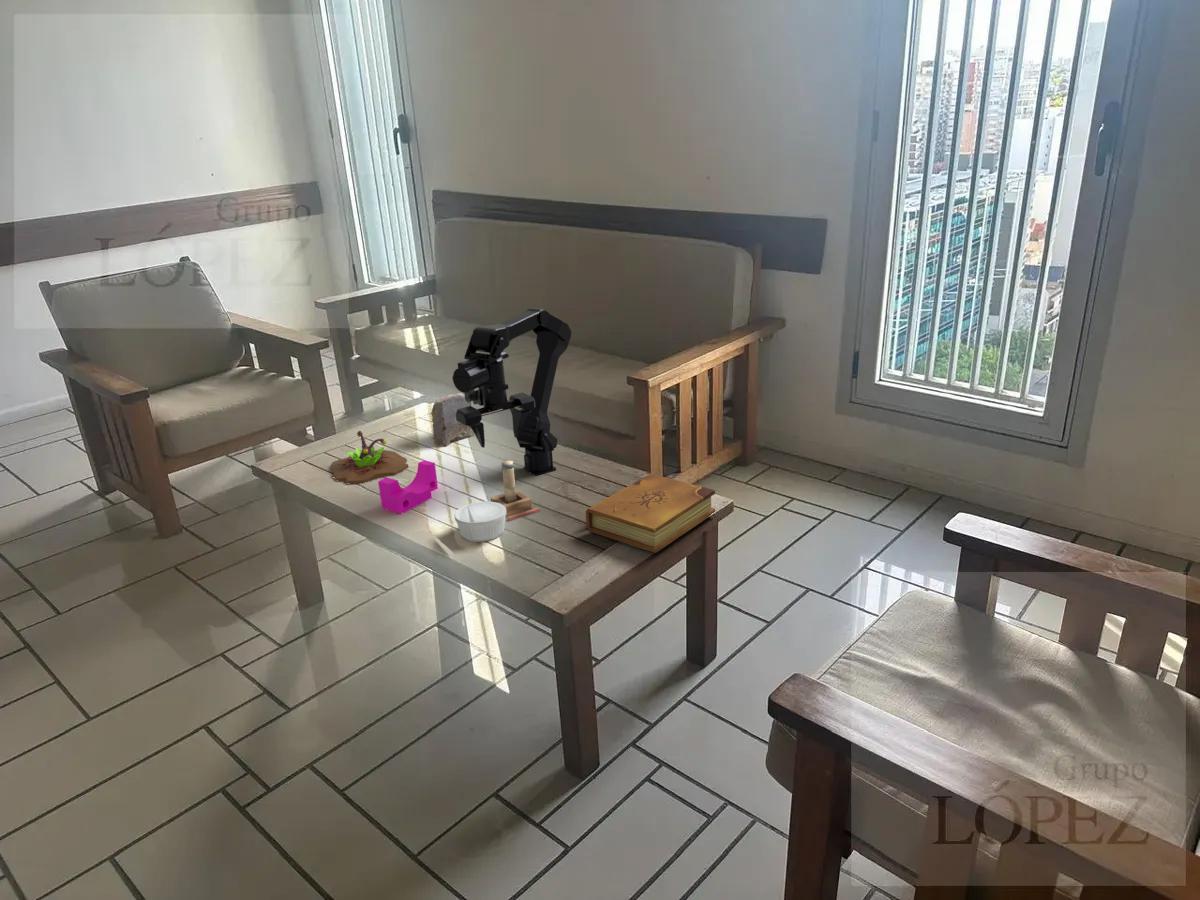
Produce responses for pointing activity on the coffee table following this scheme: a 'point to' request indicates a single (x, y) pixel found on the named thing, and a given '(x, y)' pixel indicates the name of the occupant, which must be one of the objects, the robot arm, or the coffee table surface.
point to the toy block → (409, 489)
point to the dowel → (509, 481)
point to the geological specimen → (449, 419)
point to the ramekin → (481, 521)
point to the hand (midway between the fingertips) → (499, 442)
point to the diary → (651, 512)
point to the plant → (368, 464)
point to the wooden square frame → (516, 505)
